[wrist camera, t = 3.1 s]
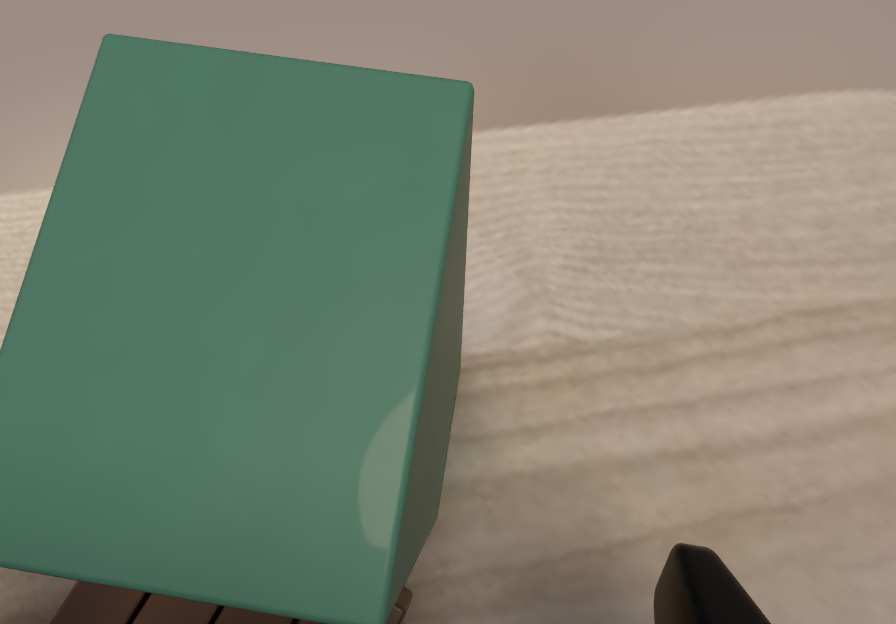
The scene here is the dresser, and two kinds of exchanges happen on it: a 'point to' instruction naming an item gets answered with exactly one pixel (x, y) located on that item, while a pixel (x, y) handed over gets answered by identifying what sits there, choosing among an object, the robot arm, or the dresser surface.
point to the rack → (169, 609)
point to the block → (240, 333)
